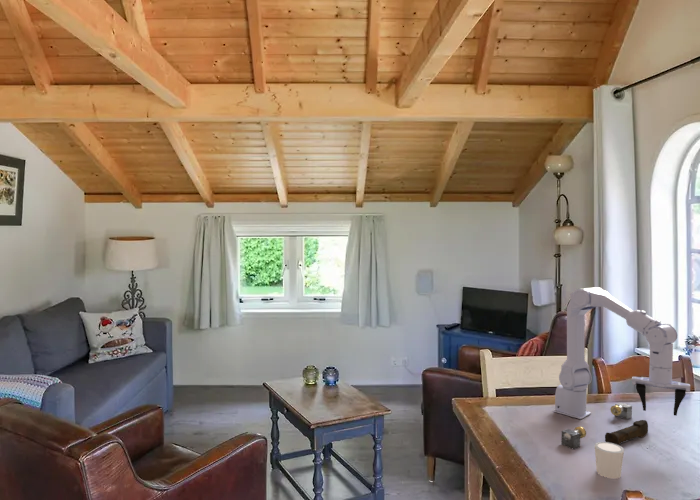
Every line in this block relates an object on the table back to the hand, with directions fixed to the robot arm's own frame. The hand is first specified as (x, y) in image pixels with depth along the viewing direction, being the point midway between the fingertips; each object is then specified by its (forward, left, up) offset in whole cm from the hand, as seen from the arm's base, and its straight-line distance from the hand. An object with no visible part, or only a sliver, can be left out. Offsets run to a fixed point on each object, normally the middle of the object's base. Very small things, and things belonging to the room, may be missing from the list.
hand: (659, 412), depth 151 cm
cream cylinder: (-3, -30, -10) cm, 31 cm away
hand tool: (-8, -2, -10) cm, 13 cm away
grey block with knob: (-16, +14, -10) cm, 23 cm away
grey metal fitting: (-17, -19, -10) cm, 27 cm away
